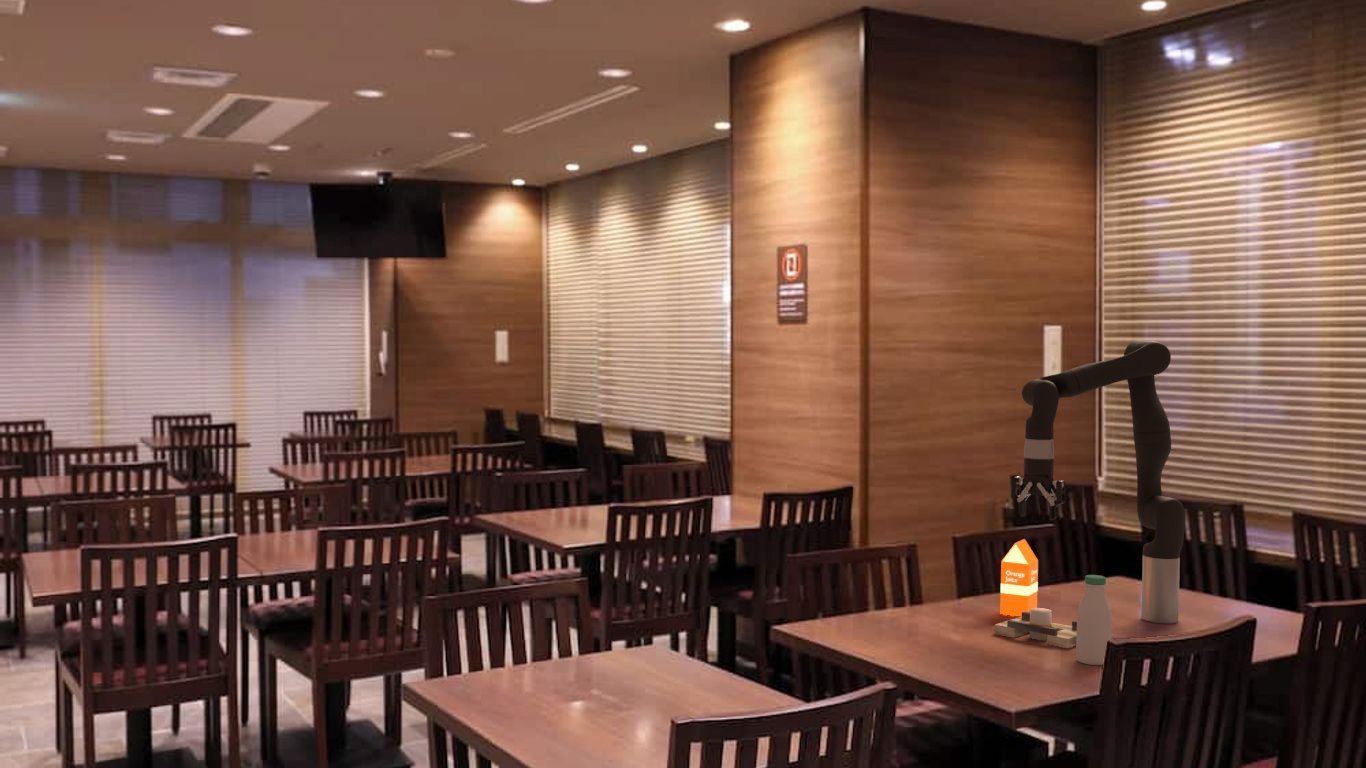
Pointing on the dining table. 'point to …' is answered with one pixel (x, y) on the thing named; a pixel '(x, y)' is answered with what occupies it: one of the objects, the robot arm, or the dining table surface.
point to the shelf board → (1039, 630)
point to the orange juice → (1019, 580)
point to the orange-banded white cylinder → (1040, 621)
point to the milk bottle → (1093, 622)
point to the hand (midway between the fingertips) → (1037, 518)
